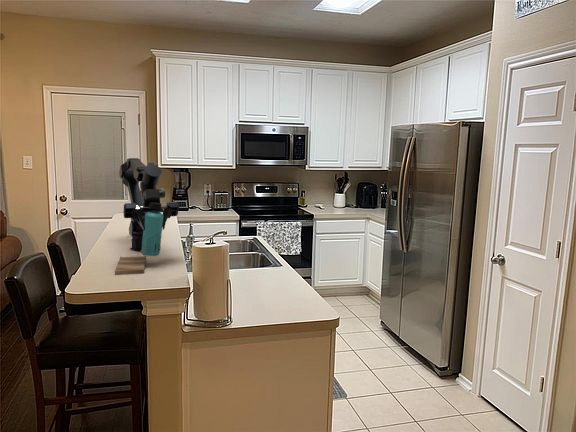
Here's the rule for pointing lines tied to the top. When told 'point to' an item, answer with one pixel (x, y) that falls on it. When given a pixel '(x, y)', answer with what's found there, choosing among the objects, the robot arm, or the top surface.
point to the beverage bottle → (152, 231)
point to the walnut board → (131, 265)
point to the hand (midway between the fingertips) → (154, 229)
